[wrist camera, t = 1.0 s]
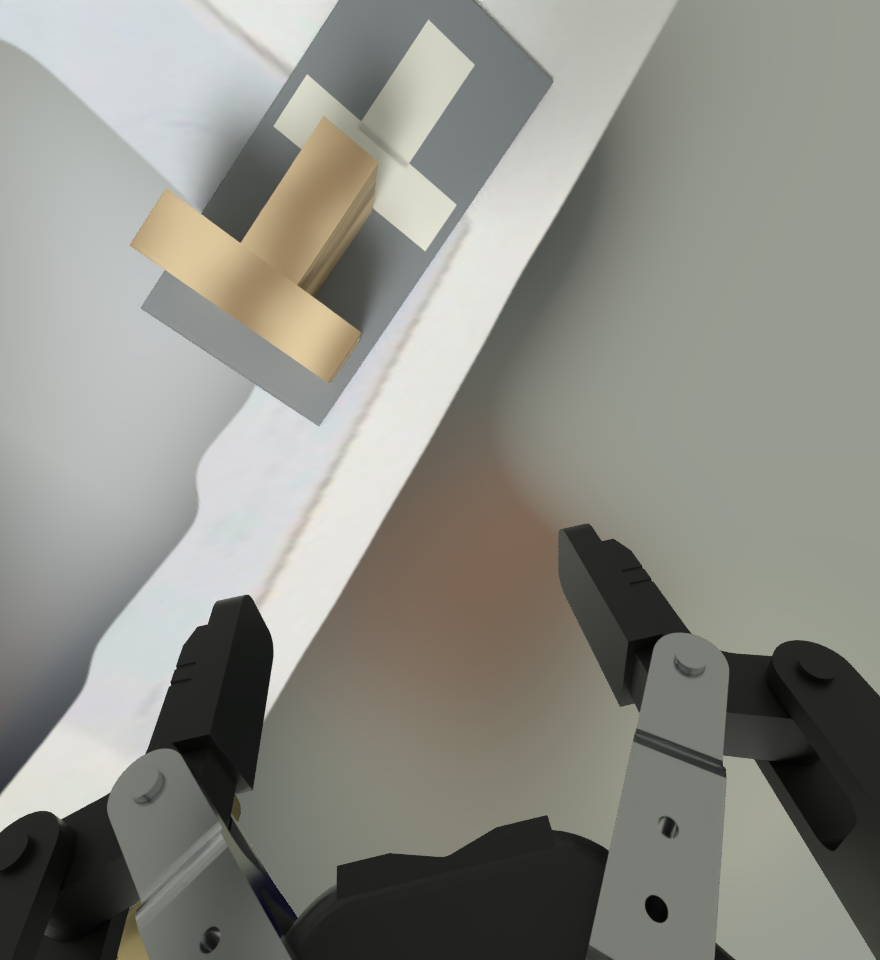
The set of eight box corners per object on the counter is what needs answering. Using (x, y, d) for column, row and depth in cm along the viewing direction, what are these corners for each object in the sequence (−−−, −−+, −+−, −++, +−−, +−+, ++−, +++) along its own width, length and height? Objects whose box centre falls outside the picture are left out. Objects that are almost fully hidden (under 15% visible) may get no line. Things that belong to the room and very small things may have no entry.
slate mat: (142, 309, 33) (140, 308, 33) (391, -77, 32) (392, -83, 31) (319, 426, 37) (319, 426, 37) (551, 85, 35) (553, 81, 35)
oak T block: (180, 277, 33) (129, 245, 25) (274, 132, 32) (251, 54, 25) (331, 382, 36) (327, 382, 28) (420, 252, 36) (440, 215, 28)
